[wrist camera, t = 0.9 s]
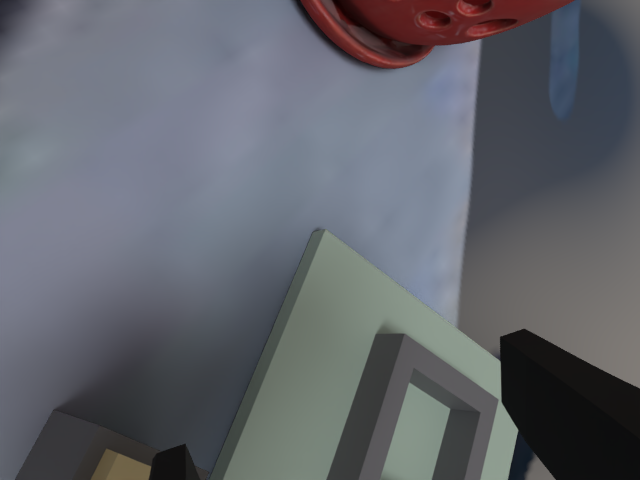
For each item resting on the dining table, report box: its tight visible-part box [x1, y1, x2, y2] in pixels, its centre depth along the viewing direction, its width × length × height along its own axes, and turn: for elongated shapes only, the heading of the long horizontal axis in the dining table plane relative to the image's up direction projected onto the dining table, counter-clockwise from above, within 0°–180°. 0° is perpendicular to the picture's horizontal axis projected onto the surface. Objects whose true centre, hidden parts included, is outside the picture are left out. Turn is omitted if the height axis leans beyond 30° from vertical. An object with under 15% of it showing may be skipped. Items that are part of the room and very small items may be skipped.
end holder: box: [209, 229, 518, 480], centre depth 30 cm, size 14×18×3 cm
